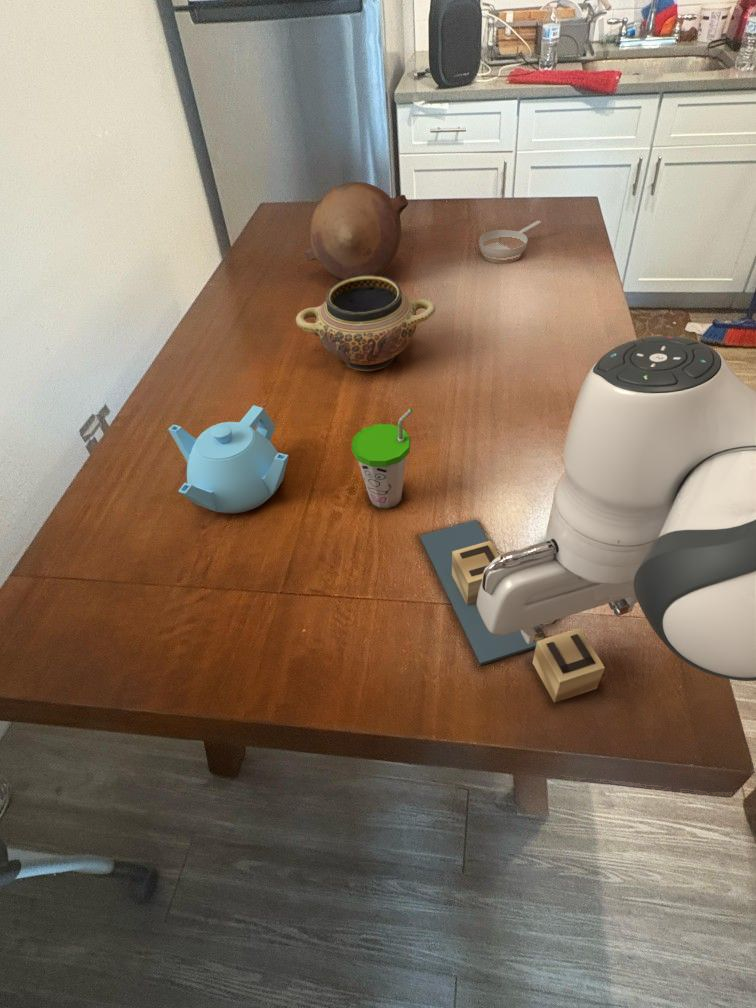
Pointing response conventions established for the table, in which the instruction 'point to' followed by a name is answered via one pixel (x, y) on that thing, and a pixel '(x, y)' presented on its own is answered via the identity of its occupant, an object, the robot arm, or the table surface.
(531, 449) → the table surface
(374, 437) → the cup
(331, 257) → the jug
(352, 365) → the ceramic bowl
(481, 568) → the tile
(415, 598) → the table surface
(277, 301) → the table surface
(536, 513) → the table surface
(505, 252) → the saucepan
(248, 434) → the teapot
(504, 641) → the mat
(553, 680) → the tile
